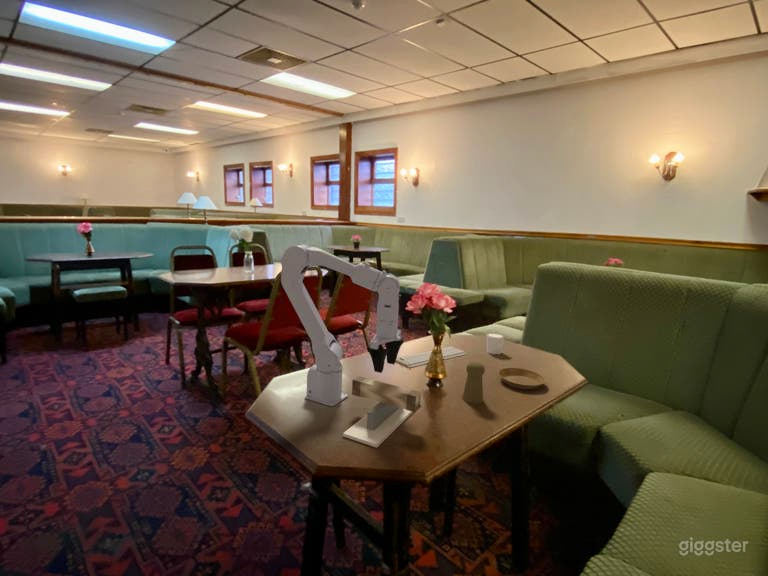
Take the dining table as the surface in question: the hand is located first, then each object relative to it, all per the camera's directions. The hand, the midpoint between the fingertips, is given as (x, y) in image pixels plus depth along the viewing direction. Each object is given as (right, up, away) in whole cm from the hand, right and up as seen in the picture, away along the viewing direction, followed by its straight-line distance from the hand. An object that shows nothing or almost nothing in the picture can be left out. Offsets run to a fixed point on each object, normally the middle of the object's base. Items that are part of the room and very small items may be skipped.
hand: (384, 367), depth 115 cm
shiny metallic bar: (0, -7, -8) cm, 11 cm away
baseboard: (+18, -5, +42) cm, 46 cm away
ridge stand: (0, -12, -7) cm, 14 cm away
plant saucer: (+45, -10, +22) cm, 51 cm away
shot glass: (+44, -4, +53) cm, 69 cm away
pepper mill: (+26, -11, +7) cm, 29 cm away
